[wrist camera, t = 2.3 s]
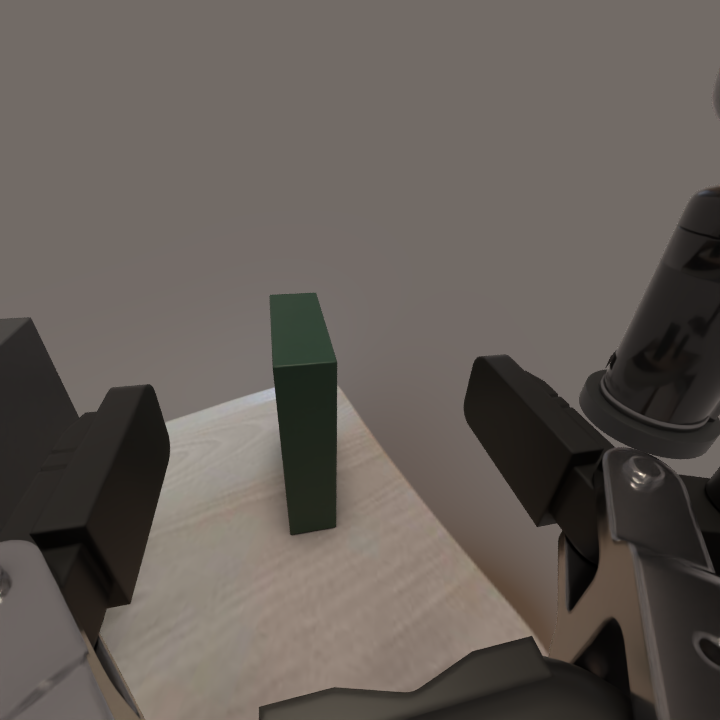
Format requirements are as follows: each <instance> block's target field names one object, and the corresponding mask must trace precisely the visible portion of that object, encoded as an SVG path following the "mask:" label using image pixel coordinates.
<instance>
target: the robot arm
mask: <svg viewBox="0 0 720 720" xmlns="http://www.w3.org/2000/svg"><path fill="white" fill-rule="evenodd" d="M712 105H713V110H714V113H715V115H716V117H717V118H718V120H720V68H719V70H718V73H717V75H716V79H715V82H714V86H713V93H712ZM610 362H611V363H610ZM608 364H610V365H609V367H608V369H607V372H606V374H605V375H604V376H603V377H602V379H601V381H600V384H599V390H600V392H601V394H602V396H603V397H604V399H605V400H606V401H607V402H608V403H609V404H610V405H611V406H613V407H614V408H615V409H617V410H618V411H620V412H621V413H623V414H624V415H626V416H628V417H630V418H632V419H634V420H636V421H638V422H640V423H643V424H645V425H648V426H651V427H654V428H658V429H662V430H666V431H672V432H693V431H697V430H699V429H701V428H702V427H703V426H704V425H705V424H706V422H715V420H716V419H717V417H718V416H719V415H720V184H717V185H712V186H708V187H705V188H702V189H700V190H698V191H697V192H695V193H694V194H693V195H692V196H691V198H690V199H689V200H688V202H687V204H686V206H685V208H684V210H683V212H682V214H681V216H680V218H679V221H678V224H677V225H676V227H675V229H674V231H673V233H672V235H671V237H670V239H669V241H668V244H667V245H666V248H665V250H664V252H663V254H662V256H661V258H660V261H659V263H658V265H657V267H656V269H655V271H654V273H653V275H652V277H651V279H650V282H649V284H648V286H647V288H646V290H645V292H644V294H643V296H642V298H641V300H640V303H639V305H638V307H637V309H636V311H635V313H634V315H633V317H632V319H631V321H630V323H629V326H628V328H627V330H626V332H625V334H624V336H623V338H622V340H621V342H620V344H619V346H618V349H617V350H616V351H615V352H614V353H613V355H612V356H611V357H610V359H609V362H608ZM608 364H607V366H608ZM607 366H606V367H607ZM464 414H465V418H466V421H467V423H468V425H469V426H470V428H471V429H472V431H473V432H474V434H475V435H476V437H477V438H478V440H479V441H480V443H481V444H482V446H483V447H484V449H485V450H486V452H487V453H488V455H489V456H490V458H491V459H492V461H493V462H494V463H495V465H496V467H497V468H498V470H499V471H500V473H501V474H502V475H503V477H504V479H505V480H506V482H507V483H508V484H509V486H510V487H511V489H512V490H513V492H514V493H515V495H516V496H517V498H518V499H519V501H520V502H521V504H522V505H523V507H524V508H525V510H526V511H527V513H528V514H529V516H530V517H531V519H532V520H533V522H534V523H535V525H536V526H537V527H540V526H545V525H550V524H555V523H557V524H558V525H559V526H560V528H561V529H562V532H561V534H560V536H559V540H558V598H557V599H558V600H557V623H556V628H555V632H554V635H553V638H552V642H551V646H550V650H549V656H548V657H545V656H542V654H541V652H540V650H539V648H538V646H537V645H536V643H535V641H534V639H533V637H532V636H530V637H526V638H522V639H518V640H515V641H511V642H507V643H503V644H499V645H495V646H491V647H488V648H484V649H480V650H476V651H472V652H471V653H470V654H468V655H467V656H465V657H464V658H462V659H461V660H459V661H458V662H457V663H455V664H454V665H452V666H451V667H449V668H448V669H447V670H445V671H444V672H442V673H441V674H439V675H438V676H436V677H435V678H434V679H432V680H431V681H429V682H428V683H426V684H425V685H423V686H422V687H421V688H419V689H417V690H415V691H413V692H405V693H404V692H390V691H377V690H363V689H350V688H336V687H334V688H330V689H326V690H322V691H319V692H315V693H311V694H307V695H303V696H299V697H295V698H292V699H288V700H284V701H280V702H276V703H272V704H269V705H265V706H261V707H259V720H720V467H719V469H718V470H717V471H716V472H715V474H714V475H713V476H712V477H711V479H709V478H702V477H694V476H686V475H678V474H677V473H676V472H675V471H674V470H673V469H672V468H671V467H669V466H668V465H667V464H665V463H664V462H662V461H661V460H659V459H657V458H656V457H653V456H652V455H649V454H647V453H645V452H642V451H639V450H636V449H631V448H624V447H623V448H622V447H618V448H615V447H614V446H613V445H612V444H611V443H610V442H609V441H608V440H607V439H605V438H604V437H603V436H602V435H601V434H600V433H599V432H598V431H597V430H596V429H595V428H594V427H593V426H592V425H591V424H589V423H588V422H587V421H586V420H585V419H584V418H583V417H582V416H581V415H580V414H579V413H578V412H577V411H576V410H575V409H573V408H570V407H569V404H568V403H567V402H566V401H565V400H564V399H563V398H562V397H558V394H557V393H556V392H555V391H554V390H553V389H552V388H551V387H550V386H549V385H548V384H546V382H545V381H543V380H541V379H539V378H538V377H536V376H534V375H532V374H530V373H529V372H527V371H524V370H523V369H522V368H521V367H520V366H519V365H518V364H517V363H516V362H515V361H514V360H513V359H511V357H509V356H508V355H493V356H481V357H477V359H476V360H475V361H474V363H473V367H472V371H471V375H470V379H469V384H468V388H467V393H466V396H465V400H464ZM51 451H52V454H49V455H48V457H47V458H46V460H45V461H44V463H43V465H42V466H41V472H38V473H37V474H36V476H35V477H34V479H33V481H32V482H31V484H30V485H29V487H28V488H27V490H26V492H25V493H24V495H23V496H22V498H21V500H20V501H19V503H18V504H17V506H16V508H15V509H14V511H13V512H12V514H11V516H10V517H9V519H8V520H7V522H6V523H5V525H4V527H3V528H2V530H1V531H0V720H145V718H144V716H143V714H142V712H141V710H140V709H139V707H138V705H137V703H136V701H135V699H134V697H133V695H132V693H131V691H130V689H129V687H128V686H127V684H126V682H125V680H124V678H123V676H122V674H121V672H120V670H119V668H118V666H117V664H116V663H115V661H114V659H113V657H112V655H111V653H110V651H109V649H108V647H107V645H106V643H105V641H104V640H103V638H102V636H101V634H100V633H99V631H100V628H101V625H102V622H103V619H104V616H105V612H106V609H107V608H112V607H117V606H122V605H127V604H130V603H131V599H132V596H133V592H134V588H135V585H136V581H137V577H138V573H139V570H140V566H141V562H142V559H143V555H144V551H145V547H146V544H147V540H148V536H149V533H150V529H151V525H152V521H153V518H154V514H155V510H156V507H157V503H158V499H159V495H160V492H161V488H162V484H163V481H164V477H165V473H166V469H167V466H168V462H169V456H170V441H169V435H168V432H167V428H166V425H165V422H164V419H163V416H162V412H161V409H160V406H159V403H158V400H157V396H156V393H155V391H154V388H153V387H152V386H151V385H150V384H147V385H137V386H124V387H113V388H111V389H110V390H109V391H108V393H107V394H106V396H105V398H104V400H103V402H102V404H101V405H100V407H99V409H98V411H97V412H89V413H85V414H84V415H82V416H81V417H80V418H79V419H77V420H76V421H75V422H74V423H72V424H71V425H70V426H69V427H68V428H66V429H65V430H64V431H63V433H62V434H61V436H60V438H59V439H58V441H57V442H56V444H55V446H54V447H53V449H52V450H51Z"/></svg>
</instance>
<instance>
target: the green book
mask: <svg viewBox="0 0 720 720" xmlns="http://www.w3.org/2000/svg"><path fill="white" fill-rule="evenodd" d="M270 316H271V317H270V318H271V340H272V359H273V360H272V361H273V375H274V384H275V394H276V403H277V412H278V422H279V431H280V441H281V450H282V460H283V469H284V479H285V488H286V498H287V507H288V517H289V526H290V534H291V535H294V534H299V533H305V532H311V531H316V530H322V529H328V528H333V527H336V467H337V360H336V357H335V353H334V350H333V347H332V344H331V340H330V337H329V334H328V331H327V327H326V324H325V321H324V317H323V314H322V311H321V308H320V304H319V301H318V298H317V294H316V293H301V294H281V295H270Z"/></svg>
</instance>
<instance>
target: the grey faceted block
mask: <svg viewBox="0 0 720 720" xmlns="http://www.w3.org/2000/svg"><path fill="white" fill-rule="evenodd" d="M77 419H79V417H78V414H77V412H76V410H75V408H74V406H73V404H72V402H71V400H70V398H69V396H68V394H67V392H66V390H65V387H64V385H63V383H62V381H61V379H60V377H59V375H58V373H57V371H56V369H55V367H54V365H53V363H52V360H51V358H50V356H49V354H48V352H47V350H46V348H45V346H44V344H43V342H42V340H41V338H40V336H39V334H38V332H37V329H36V327H35V325H34V323H33V321H32V319H31V318H10V319H0V531H1V530H2V528H3V527H4V525H5V523H6V522H7V520H8V519H9V517H10V516H11V514H12V512H13V511H14V509H15V508H16V506H17V504H18V503H19V501H20V500H21V498H22V496H23V495H24V493H25V492H26V490H27V488H28V487H29V485H30V484H31V482H32V481H33V479H34V477H35V476H36V474H37V473H38V472H41V466H42V465H43V463H44V461H45V460H46V458H47V457H48V455H49V454H52V451H51V450H52V449H53V447H54V446H55V444H56V442H57V441H58V439H59V438H60V436H61V434H62V433H63V431H64V430H65V429H66V428H68V427H69V426H70V425H71V424H72V423H74V422H75V421H76V420H77Z"/></svg>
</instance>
